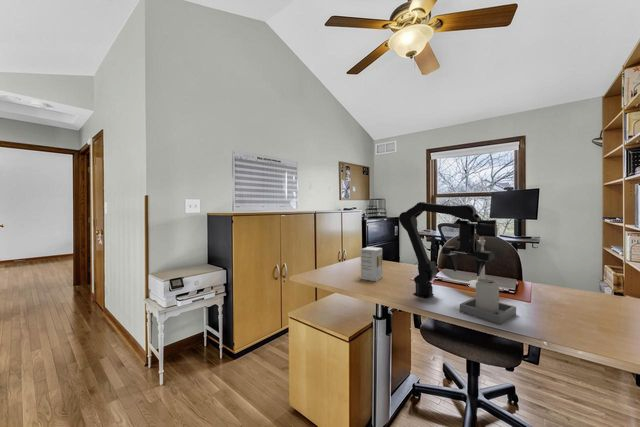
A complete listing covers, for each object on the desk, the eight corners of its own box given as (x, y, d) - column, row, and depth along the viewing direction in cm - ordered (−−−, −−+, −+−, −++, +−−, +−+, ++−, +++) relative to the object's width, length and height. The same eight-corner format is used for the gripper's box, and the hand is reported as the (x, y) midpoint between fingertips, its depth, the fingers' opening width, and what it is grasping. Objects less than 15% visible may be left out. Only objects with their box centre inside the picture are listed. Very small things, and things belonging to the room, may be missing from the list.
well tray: (459, 311, 104) (459, 304, 104) (476, 303, 112) (476, 296, 112) (500, 325, 93) (500, 316, 93) (516, 314, 101) (516, 306, 101)
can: (498, 317, 98) (498, 284, 97) (474, 312, 102) (474, 281, 101) (499, 310, 104) (499, 279, 103) (476, 306, 108) (476, 276, 107)
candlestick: (461, 282, 140) (462, 225, 139) (486, 282, 140) (487, 224, 138) (474, 290, 127) (475, 227, 126) (502, 290, 127) (503, 227, 125)
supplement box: (376, 281, 144) (376, 250, 143) (360, 279, 149) (360, 249, 148) (382, 277, 152) (382, 247, 151) (367, 275, 157) (367, 246, 156)
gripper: (501, 236, 107) (500, 275, 108) (454, 232, 122) (454, 266, 123) (488, 239, 100) (487, 280, 101) (440, 234, 115) (440, 270, 116)
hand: (466, 273), depth 110 cm, fingers open, 9 cm apart
